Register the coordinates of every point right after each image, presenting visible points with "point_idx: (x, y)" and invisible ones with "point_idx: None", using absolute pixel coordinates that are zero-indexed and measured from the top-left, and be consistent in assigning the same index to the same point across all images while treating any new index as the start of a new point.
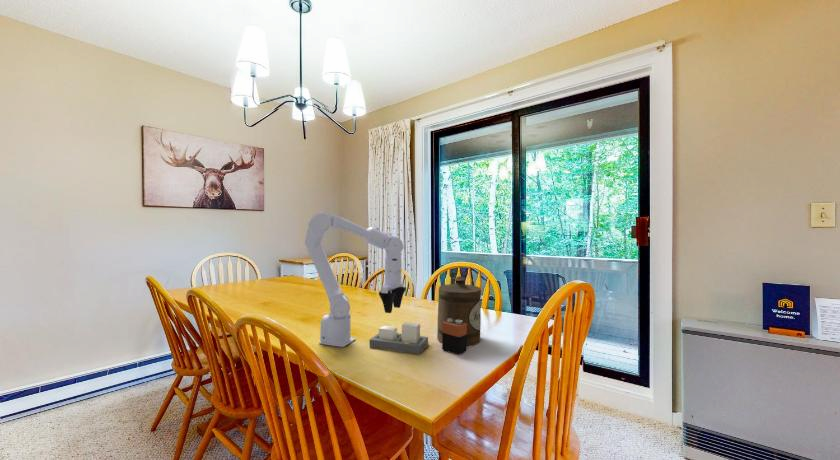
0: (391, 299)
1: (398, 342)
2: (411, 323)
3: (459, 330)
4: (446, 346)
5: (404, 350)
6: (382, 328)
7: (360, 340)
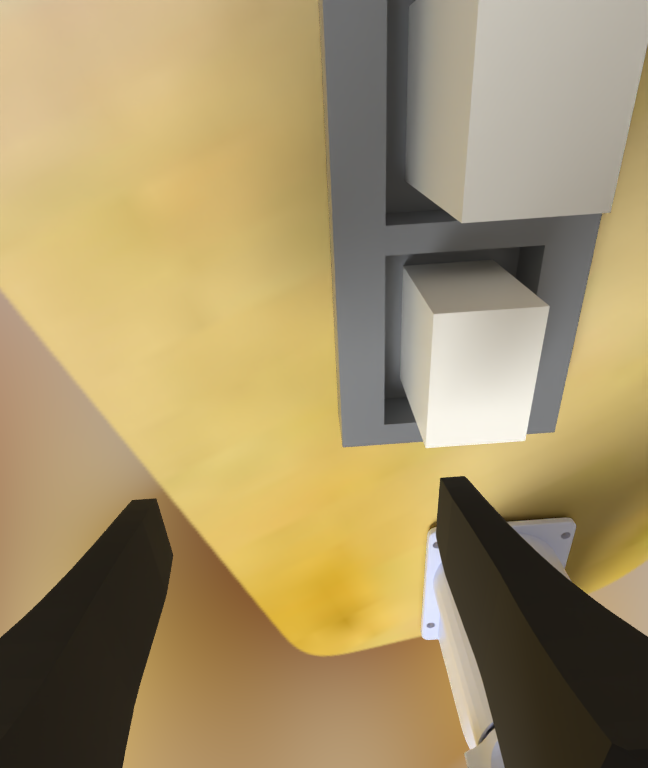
0: (646, 640)
1: None
2: (510, 106)
3: None
4: None
5: None
6: (518, 415)
7: (425, 500)
